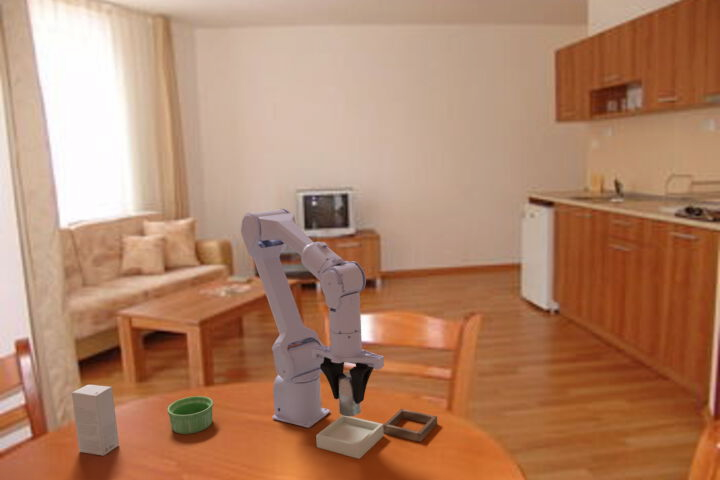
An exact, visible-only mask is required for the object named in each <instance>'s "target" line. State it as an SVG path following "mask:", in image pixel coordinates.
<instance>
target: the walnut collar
mask: <svg viewBox="0 0 720 480" xmlns="http://www.w3.org/2000/svg"><path fill="white" fill-rule="evenodd" d="M403 419H406V420H410V421H414V422H419V423H424V426H423V427H421V429H420V430H419V431H417V430H413V429H409V428H406V427H400V426H396V425H398V423H400V422H401V420H403ZM437 425H438V416H436V415H431V414H428V413H423V412H418V411H414V410H409V409H404V408H400V409H399V410H398V411H397V412H396V413H395V414H394V415H392V416H391V417H390V418H389V420H387V421H386V422H385V423H383V431H384V434H386V435H389V436H395V437H399V438H403V439H406V440H410V441H415V442H419V443H421V442H423V440H424V439H425V438H426V437H427V436H428V435H429V434H430V433H431V432H432V431H433V430H434V428H435V427H436V426H437Z"/></svg>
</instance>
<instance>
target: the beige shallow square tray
mask: <svg viewBox="0 0 720 480" xmlns="http://www.w3.org/2000/svg"><path fill="white" fill-rule="evenodd" d="M383 425H384V423H380V422H376V421H371V420H366V419H363V418H360V417H355V416H344V415H341V414H340V416H338V418H336V419H335V420H333V421H332V422H331V423H329V425H327V426H326V427H325V428H324V429H322V430H320V432H318V433H317V434H315V437H316V440H315V441H316V448H318V449H322V450H324V451H325V450H326V451H330V452H334V453H336V454H340V455H344V456H348V457H351V458H354V459H358V460H359V459H361V458H362V457H363V456H364V455H365V454H366V453H367V452H368V451H370V449H372V448H373V447H374V446H375V445H376V444H377V443H378V442H379V441H380V440H381V439H382V438H383V437H384V436H385V435H384V434H385V433H384V431H383Z"/></svg>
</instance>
